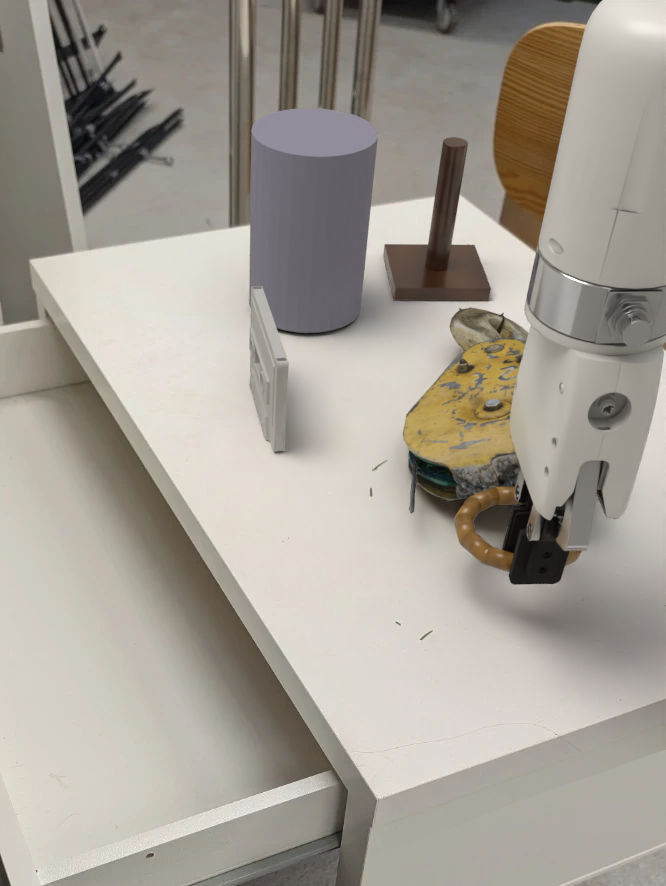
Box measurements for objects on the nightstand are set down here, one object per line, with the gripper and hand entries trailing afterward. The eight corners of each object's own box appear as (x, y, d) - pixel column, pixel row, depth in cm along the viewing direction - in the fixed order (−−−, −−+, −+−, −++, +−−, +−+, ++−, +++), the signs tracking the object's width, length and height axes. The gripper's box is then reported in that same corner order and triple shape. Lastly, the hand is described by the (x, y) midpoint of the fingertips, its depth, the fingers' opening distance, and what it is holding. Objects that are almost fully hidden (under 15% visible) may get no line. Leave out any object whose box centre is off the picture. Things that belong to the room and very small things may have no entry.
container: (340, 345, 90) (355, 165, 79) (232, 322, 92) (232, 143, 81) (374, 293, 97) (393, 119, 85) (272, 272, 99) (277, 100, 87)
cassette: (291, 453, 80) (295, 362, 74) (267, 454, 79) (270, 364, 74) (265, 371, 87) (267, 283, 81) (243, 372, 87) (244, 284, 81)
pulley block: (578, 262, 86) (604, 440, 65) (584, 329, 89) (611, 517, 68) (412, 301, 90) (385, 479, 69) (424, 363, 94) (402, 549, 73)
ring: (566, 496, 70) (570, 481, 69) (597, 576, 65) (602, 561, 64) (445, 498, 70) (447, 484, 69) (465, 579, 64) (468, 564, 63)
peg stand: (472, 256, 102) (496, 122, 93) (488, 300, 96) (516, 162, 87) (383, 256, 102) (398, 121, 92) (394, 300, 96) (411, 161, 87)
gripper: (732, 374, 46) (620, 657, 60) (637, 218, 56) (560, 491, 70) (567, 376, 46) (493, 659, 60) (501, 219, 56) (451, 493, 70)
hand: (529, 567), depth 65 cm, fingers closed on ring, 1 cm apart
